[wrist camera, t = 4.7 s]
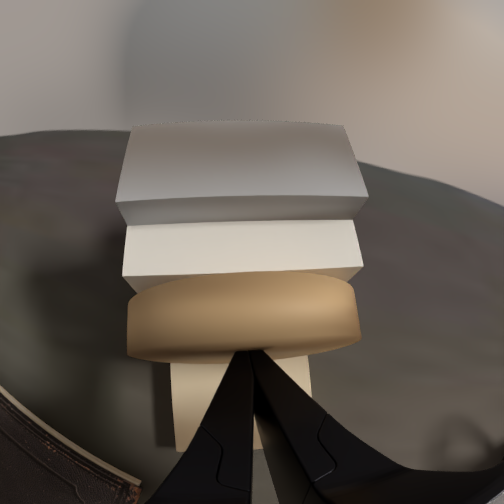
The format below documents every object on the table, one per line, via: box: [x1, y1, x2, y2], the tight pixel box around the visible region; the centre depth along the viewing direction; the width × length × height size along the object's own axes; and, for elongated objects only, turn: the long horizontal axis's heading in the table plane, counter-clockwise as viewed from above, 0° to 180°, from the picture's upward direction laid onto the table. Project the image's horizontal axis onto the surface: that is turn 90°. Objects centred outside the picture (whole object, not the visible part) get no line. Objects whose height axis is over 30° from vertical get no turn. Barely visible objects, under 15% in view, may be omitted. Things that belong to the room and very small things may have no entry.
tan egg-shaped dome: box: [127, 271, 362, 364], centre depth 12 cm, size 9×8×8 cm
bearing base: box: [115, 120, 369, 452], centre depth 12 cm, size 12×7×10 cm, turn 4°
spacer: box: [122, 220, 363, 294], centre depth 12 cm, size 2×7×7 cm, turn 95°
